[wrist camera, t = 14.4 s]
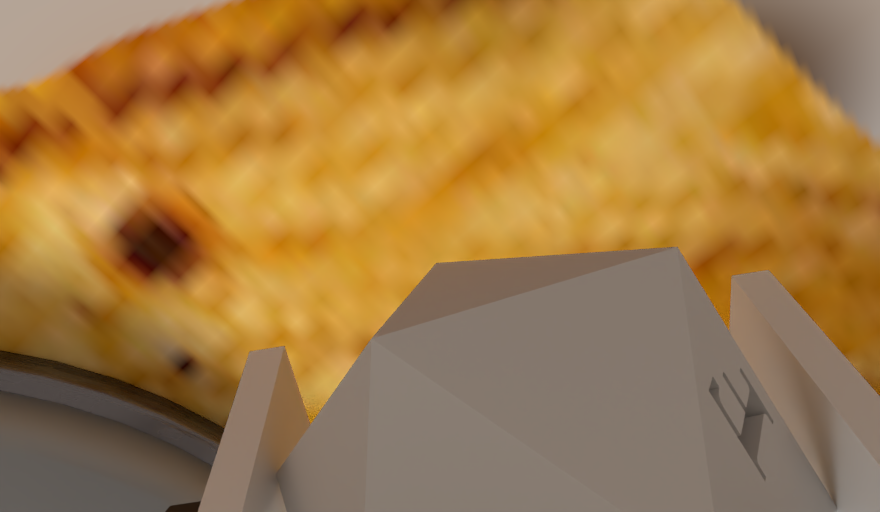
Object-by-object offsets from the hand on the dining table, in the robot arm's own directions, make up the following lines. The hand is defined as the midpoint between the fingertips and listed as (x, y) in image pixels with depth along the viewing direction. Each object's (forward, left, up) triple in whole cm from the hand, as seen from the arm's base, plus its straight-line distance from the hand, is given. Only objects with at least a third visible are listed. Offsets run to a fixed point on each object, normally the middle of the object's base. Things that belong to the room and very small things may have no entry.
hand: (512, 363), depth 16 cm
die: (0, 0, 0) cm, 0 cm away
